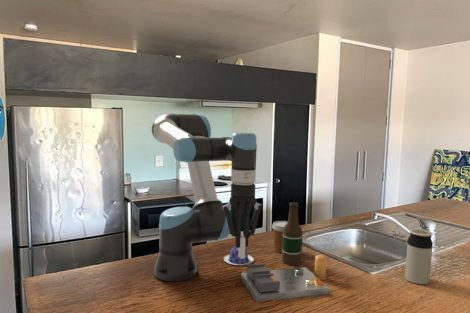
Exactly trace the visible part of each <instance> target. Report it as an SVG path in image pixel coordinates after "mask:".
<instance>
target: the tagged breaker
mask: <svg viewBox="0 0 470 313" xmlns="http://www.w3.org/2000/svg"><path fill="white" fill-rule="evenodd" d="M254 284H255V285H256V287H257V288H258V289H259V291H260V292H268V291H277V290H280V281H277V280H276V279H275V277H274V276H273V273H270V274H259V275H254Z"/></svg>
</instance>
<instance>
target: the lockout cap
mask: <svg viewBox="0 0 470 313" xmlns="http://www.w3.org/2000/svg"><path fill="white" fill-rule="evenodd" d="M327 260H328V258H327V255H324V254H316V255H315V256H314V272H313V274H314V275H315V276H316V277H317V278H318V279H320V280H321V281H325V280H326V276H327V274H326V273H327Z"/></svg>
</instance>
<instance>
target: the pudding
mask: <svg viewBox="0 0 470 313" xmlns="http://www.w3.org/2000/svg"><path fill="white" fill-rule="evenodd" d="M223 261H224V262H226V263H227V264H229V265H234V266H247V265H251V264H252V263H253V262H254V261H255V260H254V257H253V256H251V255H249V254H248V251H247V247H245V258H244V259H240V258H239V256H238V248H237V247H236V245H235V246H233V247H231V249H230V253H229V254H227V255H225V256H224V257H223Z"/></svg>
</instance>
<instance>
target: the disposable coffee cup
mask: <svg viewBox="0 0 470 313" xmlns="http://www.w3.org/2000/svg"><path fill="white" fill-rule="evenodd" d="M287 222H288V220H287V221H286V220H278V221H274V222H273V223H272V225H271V228H272V234H273V245H274V252H276V253H278V254H282V242H283V229H284V227H285V225H286V224H287Z"/></svg>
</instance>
